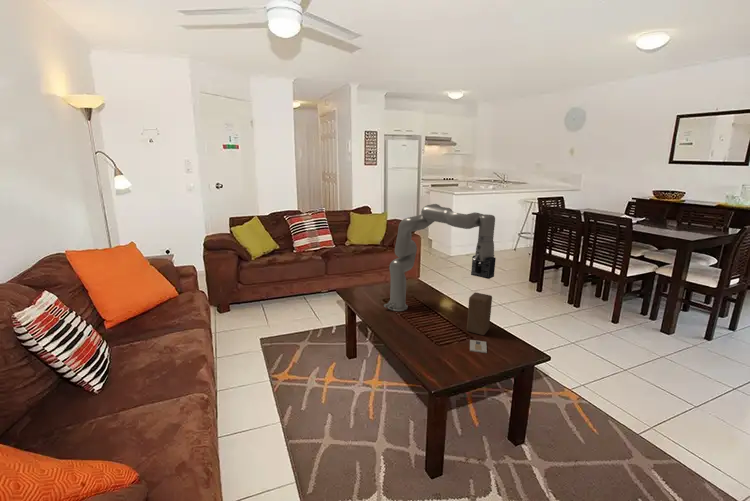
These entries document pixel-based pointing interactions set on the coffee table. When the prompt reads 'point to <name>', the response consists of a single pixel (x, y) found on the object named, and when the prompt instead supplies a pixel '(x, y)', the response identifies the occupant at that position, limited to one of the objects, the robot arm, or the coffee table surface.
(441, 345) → the coffee table surface
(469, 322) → the wooden block
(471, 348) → the card
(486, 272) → the small box
